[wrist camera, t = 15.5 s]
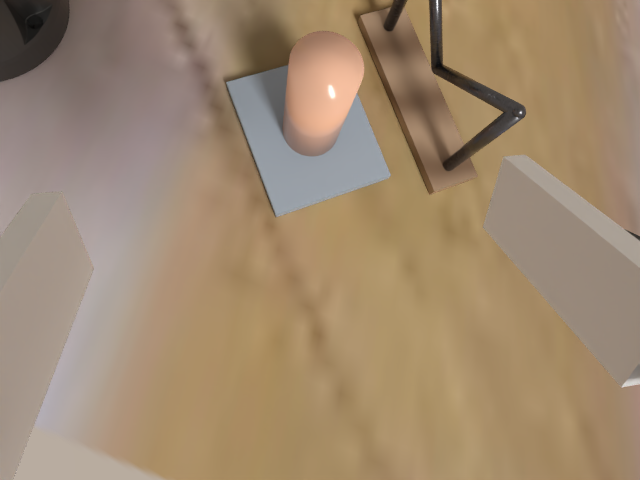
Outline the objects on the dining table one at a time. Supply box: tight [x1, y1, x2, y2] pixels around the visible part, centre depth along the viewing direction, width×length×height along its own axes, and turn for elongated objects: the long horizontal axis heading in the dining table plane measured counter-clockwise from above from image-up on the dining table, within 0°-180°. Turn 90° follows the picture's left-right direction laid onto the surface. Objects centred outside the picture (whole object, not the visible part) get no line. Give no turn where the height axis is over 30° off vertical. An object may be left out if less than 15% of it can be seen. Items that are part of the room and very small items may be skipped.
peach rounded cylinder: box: [282, 31, 364, 156], centre depth 36 cm, size 6×6×11 cm
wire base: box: [358, 7, 478, 195], centre depth 44 cm, size 20×5×1 cm, turn 21°
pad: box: [226, 65, 391, 217], centre depth 41 cm, size 14×12×1 cm
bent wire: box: [383, 0, 526, 171], centre depth 37 cm, size 17×1×12 cm, turn 21°
